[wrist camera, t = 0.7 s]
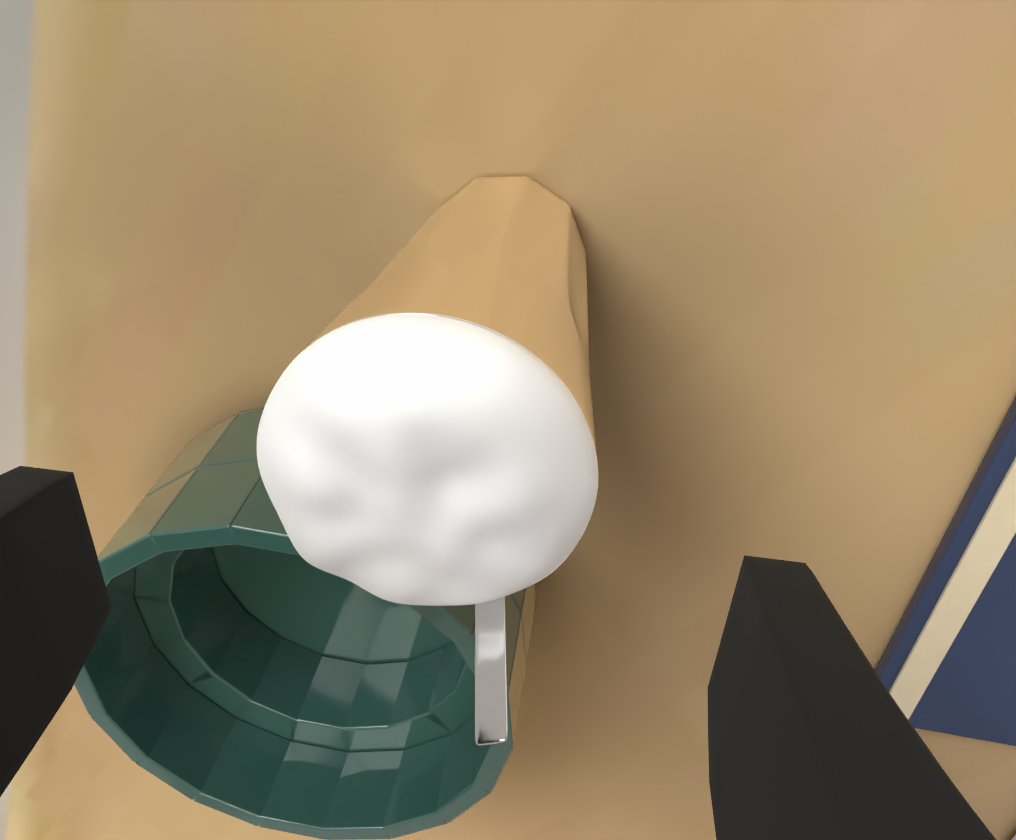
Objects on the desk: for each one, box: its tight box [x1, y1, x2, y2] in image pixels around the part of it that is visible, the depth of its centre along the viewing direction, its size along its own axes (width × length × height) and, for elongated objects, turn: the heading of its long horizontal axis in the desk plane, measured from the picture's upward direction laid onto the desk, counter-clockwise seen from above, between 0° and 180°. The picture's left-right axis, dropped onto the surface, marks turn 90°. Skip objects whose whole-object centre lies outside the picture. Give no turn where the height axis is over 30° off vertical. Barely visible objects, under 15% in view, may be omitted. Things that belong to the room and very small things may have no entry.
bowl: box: [74, 408, 536, 840], centre depth 21 cm, size 10×10×5 cm
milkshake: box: [257, 176, 598, 745], centre depth 14 cm, size 4×5×10 cm
